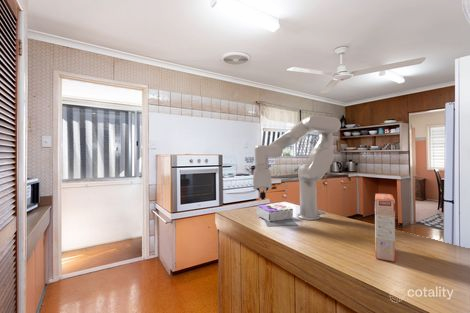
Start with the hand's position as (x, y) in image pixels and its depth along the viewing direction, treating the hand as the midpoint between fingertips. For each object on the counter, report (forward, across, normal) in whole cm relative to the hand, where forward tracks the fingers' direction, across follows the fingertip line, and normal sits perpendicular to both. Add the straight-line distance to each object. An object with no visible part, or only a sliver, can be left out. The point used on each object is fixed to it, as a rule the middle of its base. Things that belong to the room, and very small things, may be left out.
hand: (262, 199), depth 132 cm
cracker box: (+12, -38, +48) cm, 62 cm away
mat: (+12, -8, 0) cm, 15 cm away
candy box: (+8, 0, -1) cm, 8 cm away
